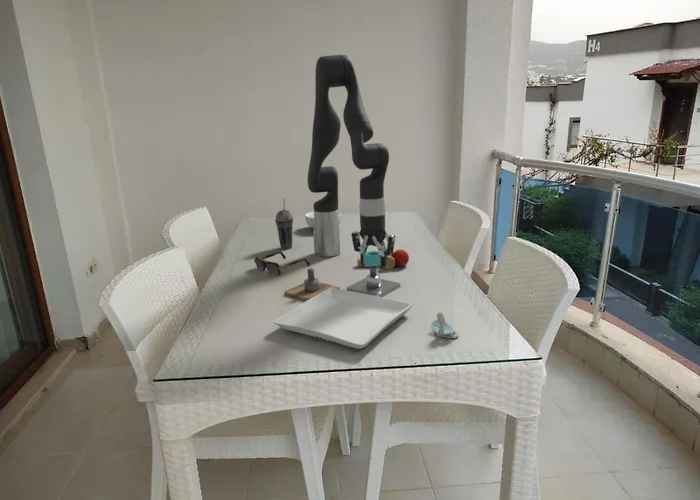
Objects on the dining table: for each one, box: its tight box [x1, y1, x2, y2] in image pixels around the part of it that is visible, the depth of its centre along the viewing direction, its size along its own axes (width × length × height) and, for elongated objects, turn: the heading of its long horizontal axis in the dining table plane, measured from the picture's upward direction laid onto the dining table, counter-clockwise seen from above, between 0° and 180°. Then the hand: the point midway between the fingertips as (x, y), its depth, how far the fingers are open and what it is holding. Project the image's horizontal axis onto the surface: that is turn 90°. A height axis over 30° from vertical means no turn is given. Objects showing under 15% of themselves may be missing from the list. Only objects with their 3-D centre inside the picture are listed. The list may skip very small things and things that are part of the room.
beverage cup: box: [274, 198, 294, 250], centre depth 195 cm, size 7×7×20 cm
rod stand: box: [284, 268, 340, 302], centre depth 150 cm, size 12×12×8 cm
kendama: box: [356, 249, 410, 270], centre depth 171 cm, size 8×6×18 cm
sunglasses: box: [253, 251, 311, 276], centre depth 175 cm, size 14×15×5 cm
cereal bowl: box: [304, 211, 342, 229], centre depth 225 cm, size 17×17×7 cm
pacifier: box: [430, 311, 459, 339], centre depth 120 cm, size 7×6×6 cm
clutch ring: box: [363, 250, 381, 267], centre depth 149 cm, size 6×6×3 cm
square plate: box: [272, 288, 413, 350], centre depth 129 cm, size 27×27×4 cm
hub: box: [346, 266, 401, 297], centre depth 151 cm, size 12×12×9 cm
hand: (373, 265), depth 150 cm, fingers closed on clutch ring, 5 cm apart
